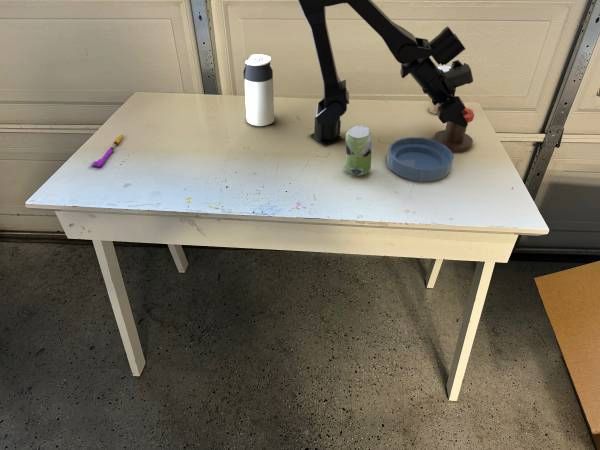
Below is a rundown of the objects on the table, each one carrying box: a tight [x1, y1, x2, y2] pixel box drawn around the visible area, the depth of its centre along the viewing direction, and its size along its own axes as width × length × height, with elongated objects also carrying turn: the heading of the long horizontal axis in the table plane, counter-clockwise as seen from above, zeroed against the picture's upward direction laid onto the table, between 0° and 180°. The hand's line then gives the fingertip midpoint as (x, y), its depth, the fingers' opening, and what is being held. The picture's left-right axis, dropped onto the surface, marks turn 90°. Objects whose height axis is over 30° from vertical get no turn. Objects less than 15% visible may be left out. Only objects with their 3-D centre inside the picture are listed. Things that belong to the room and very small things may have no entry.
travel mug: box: [243, 53, 275, 127], centre depth 125 cm, size 8×8×18 cm
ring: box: [463, 107, 475, 124], centre depth 116 cm, size 7×7×2 cm
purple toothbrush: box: [91, 134, 124, 168], centre depth 116 cm, size 3×1×16 cm
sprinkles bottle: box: [428, 65, 451, 115], centre depth 132 cm, size 5×5×13 cm
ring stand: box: [433, 110, 474, 154], centre depth 118 cm, size 10×10×11 cm
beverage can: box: [345, 124, 373, 176], centre depth 106 cm, size 6×7×12 cm
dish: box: [386, 136, 454, 182], centre depth 111 cm, size 16×16×4 cm
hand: (463, 119), depth 117 cm, fingers closed on ring, 7 cm apart
